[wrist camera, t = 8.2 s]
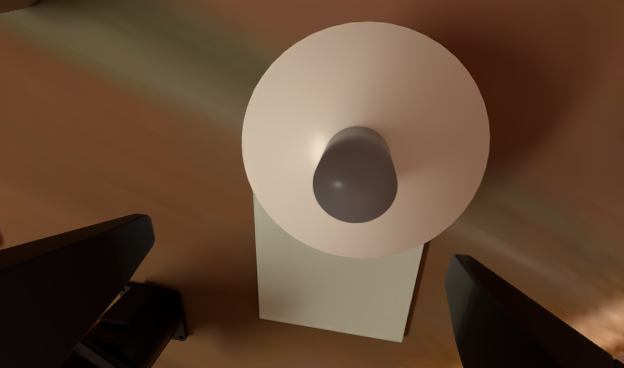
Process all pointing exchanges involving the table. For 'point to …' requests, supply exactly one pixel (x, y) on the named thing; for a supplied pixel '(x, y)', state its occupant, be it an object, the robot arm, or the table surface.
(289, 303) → the mat
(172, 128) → the table surface
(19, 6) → the squeeze bottle
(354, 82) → the lid
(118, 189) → the table surface
